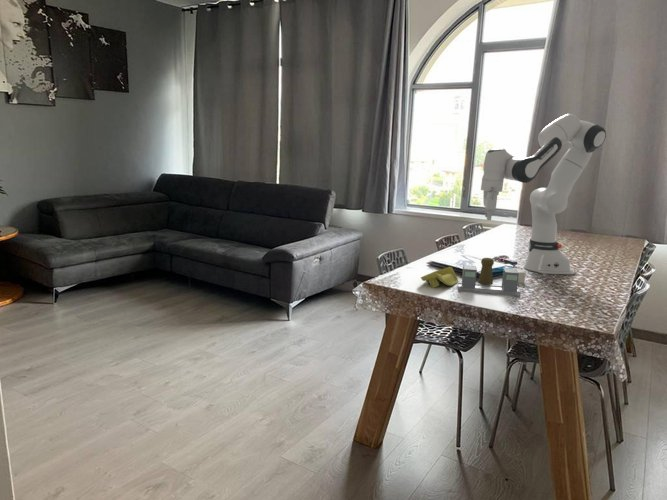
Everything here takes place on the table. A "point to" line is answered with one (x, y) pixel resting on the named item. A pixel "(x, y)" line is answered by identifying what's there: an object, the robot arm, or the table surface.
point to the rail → (488, 289)
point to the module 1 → (469, 276)
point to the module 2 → (510, 280)
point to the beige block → (521, 276)
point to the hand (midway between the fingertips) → (487, 218)
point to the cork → (486, 271)
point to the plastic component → (441, 277)
